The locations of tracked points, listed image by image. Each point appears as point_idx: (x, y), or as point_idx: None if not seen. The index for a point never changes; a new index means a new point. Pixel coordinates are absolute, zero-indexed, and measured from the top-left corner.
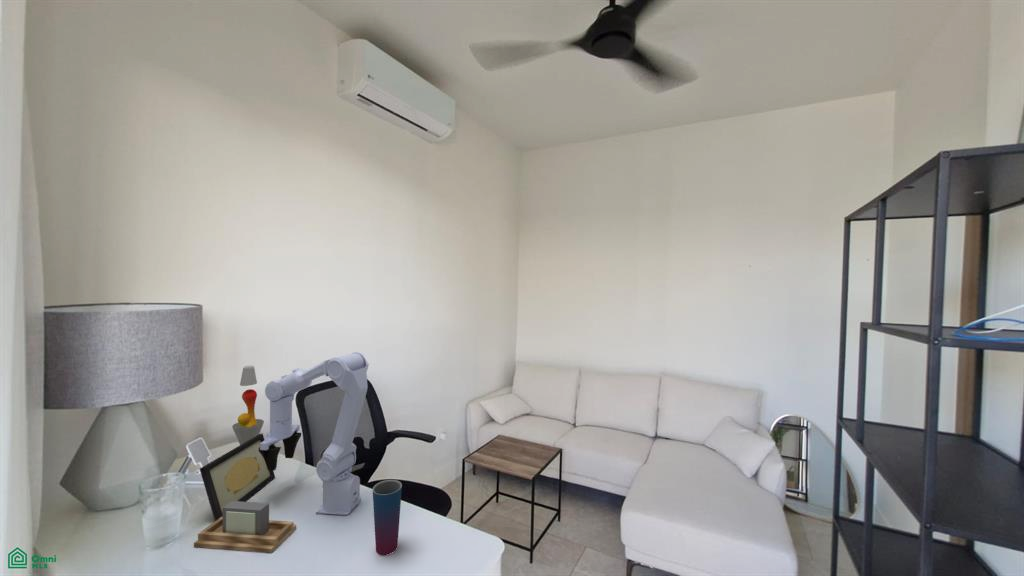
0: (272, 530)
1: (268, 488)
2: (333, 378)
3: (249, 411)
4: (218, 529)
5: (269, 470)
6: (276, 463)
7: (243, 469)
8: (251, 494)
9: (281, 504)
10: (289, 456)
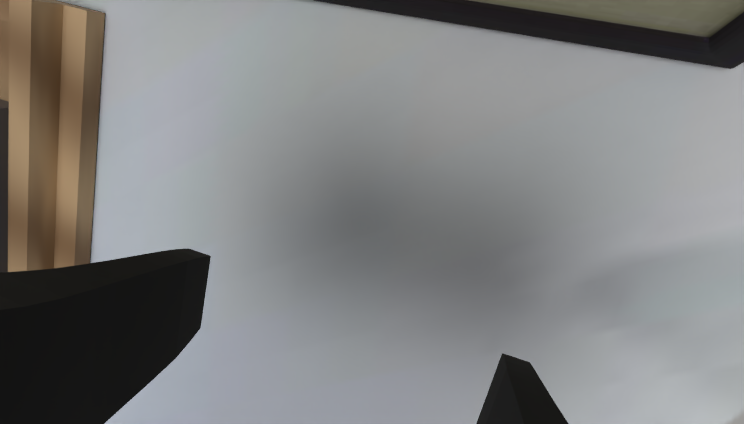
0: None
1: (524, 91)
2: None
3: None
4: (5, 31)
5: (736, 21)
6: (140, 381)
7: None
8: (397, 13)
9: (284, 270)
10: (486, 416)
